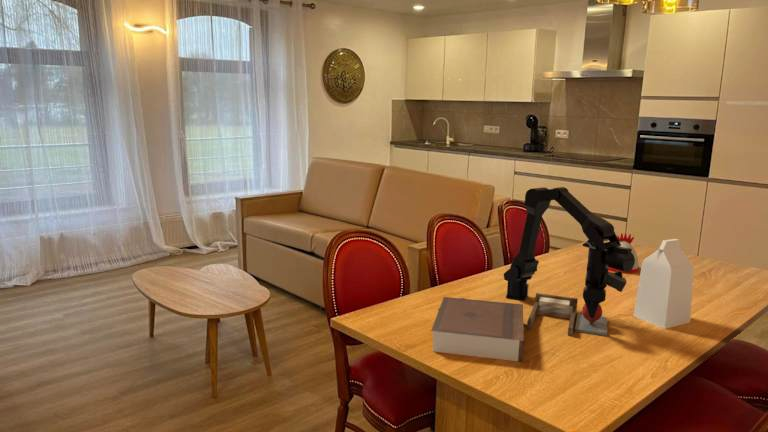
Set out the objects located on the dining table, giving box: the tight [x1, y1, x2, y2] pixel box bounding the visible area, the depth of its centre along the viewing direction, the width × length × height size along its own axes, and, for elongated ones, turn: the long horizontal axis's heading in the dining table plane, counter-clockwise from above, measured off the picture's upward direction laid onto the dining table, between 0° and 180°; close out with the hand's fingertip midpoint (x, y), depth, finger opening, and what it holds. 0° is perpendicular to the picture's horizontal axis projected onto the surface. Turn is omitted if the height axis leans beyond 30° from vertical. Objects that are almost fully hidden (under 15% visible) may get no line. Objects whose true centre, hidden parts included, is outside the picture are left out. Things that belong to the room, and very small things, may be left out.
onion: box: [581, 303, 603, 323], centre depth 177 cm, size 6×6×8 cm
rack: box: [526, 292, 579, 337], centre depth 180 cm, size 13×20×5 cm, turn 158°
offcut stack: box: [537, 297, 573, 320], centre depth 186 cm, size 11×4×4 cm, turn 68°
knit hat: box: [607, 232, 640, 274], centre depth 238 cm, size 14×14×15 cm
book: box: [430, 296, 525, 363], centre depth 167 cm, size 24×28×6 cm
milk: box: [632, 238, 694, 330], centre depth 181 cm, size 12×12×26 cm
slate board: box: [574, 313, 609, 337], centre depth 178 cm, size 9×14×1 cm, turn 158°
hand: (592, 312), depth 177 cm, fingers open, 9 cm apart
